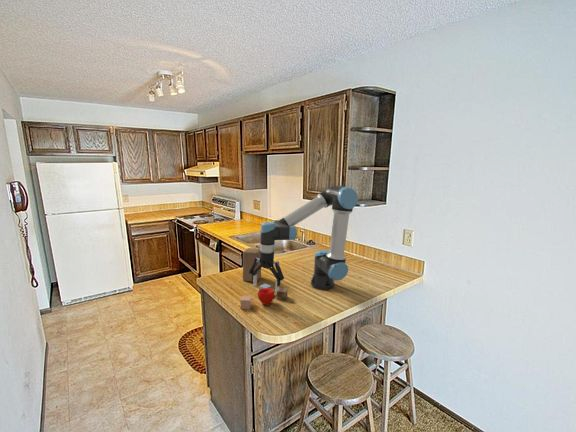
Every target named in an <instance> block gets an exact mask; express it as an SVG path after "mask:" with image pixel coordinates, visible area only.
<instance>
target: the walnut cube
mask: <svg viewBox="0 0 576 432" xmlns="http://www.w3.org/2000/svg"><path fill="white" fill-rule="evenodd" d="M287 298H288V288H287V287H279V291H278V292H277V293H276V300H280V301H286V299H287Z"/></svg>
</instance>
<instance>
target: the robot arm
mask: <svg viewBox="0 0 576 432" xmlns="http://www.w3.org/2000/svg"><path fill="white" fill-rule="evenodd" d="M358 202H359V196H358V193H357V191H356V190H355V189H354V188H352V187H349V186H341V185H333V186H329V187H328V188H326V189H324V190H323V191H321V192H319V193H318V194H317V196H316V197H314V198H313V199H311V200H310V201H308V202H306V203H305V204H302V206H301V205H300V207H298V208H297V209H295V210H294V211H292V212H291V213H288V214H286V215H285V216H283V217H282V218H280V219H276V220H273V221H272V222H271V221H264V222H262V223H261V225H260V246H259V247H260V248H259V249H260V251H261V252H260V259H259V258H258V257H257V258H255V260H254V264H253V265H252V267H251V269H250V271H249V273H251V274H252V280H253V282H252V287H253V288H255V287H257V285H258V281H257V274H256V273H257V272H258V271H259V270H260V269H261V270H262V268H263V269H267V270H269V271H271V273H272V274H273V276H274V278H275V279H276V280H275V284H274V285H275V288H274V289H275V291H274V293H276V294H277V292H278V291H279V288H280V286H281V282H282V281H283V280H284V279H285V276H284V274H283V271H282V269H281V266H280V261H275V244H276V243H275V242H276V241H292V240H296V239H297V236H298V229H297V227H296V225H298V224H299V223H301V222H302V221H304V220H306V219H308V218H310V216H312V215H314V214H316V213H317V212H318V211H320V210H322V209H324V208H325V209H327V208H328V207H331V210H332V212H333V219H332V227H331V235H330V245H329V249H318V250H316V251H315V253H314V264H313V265H314V267H313V275H312V277H311V280H310V286H311V287H312V288H315V290H321V291H322V290H323V291H327V290H332V289H333V287H334V288H335V282H336V281H341V280H343V279H344V278H345V277H347V275H348V273H349V266H348V264H347V263H346V261H347V257H346V255H345V251H346V250H345V248H346V240H347V234H348V226H349V218H350V214H352V212H353V210H354V208H355V207H356V206H357V204H358ZM258 262H260V265H259V267H258V268H257V269H256V270H255V271H254V269H255V267H256V265H257V263H258Z"/></svg>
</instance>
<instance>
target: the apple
mask: <svg viewBox="0 0 576 432" xmlns="http://www.w3.org/2000/svg"><path fill="white" fill-rule="evenodd" d="M274 297H275V291H274V290H273V289H272V288H271V289H270V288H262V289H260V290H259V289H258V292H257V298H258V300H259V301H260V302H261V303H262V304H263V305H266V306H267V305H271V303H273V301H274Z"/></svg>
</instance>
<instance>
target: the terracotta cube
mask: <svg viewBox="0 0 576 432" xmlns="http://www.w3.org/2000/svg"><path fill="white" fill-rule="evenodd" d="M251 306H252V295H241V297H240V309H241V308H244V309H243V310H251Z"/></svg>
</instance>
